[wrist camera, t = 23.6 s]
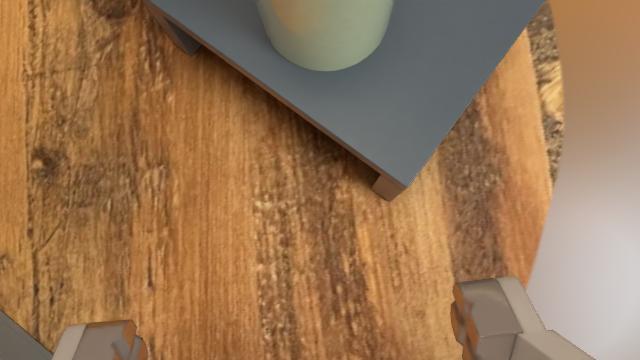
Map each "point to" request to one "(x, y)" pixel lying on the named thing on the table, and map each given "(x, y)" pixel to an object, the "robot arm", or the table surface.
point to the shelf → (368, 72)
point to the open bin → (19, 343)
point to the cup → (325, 30)
